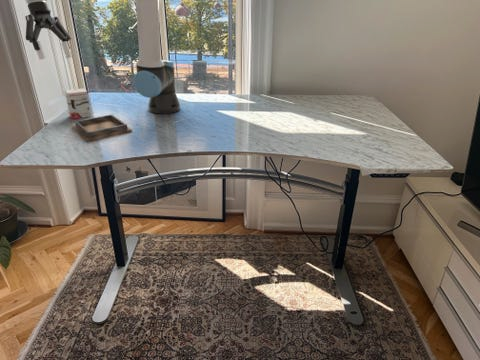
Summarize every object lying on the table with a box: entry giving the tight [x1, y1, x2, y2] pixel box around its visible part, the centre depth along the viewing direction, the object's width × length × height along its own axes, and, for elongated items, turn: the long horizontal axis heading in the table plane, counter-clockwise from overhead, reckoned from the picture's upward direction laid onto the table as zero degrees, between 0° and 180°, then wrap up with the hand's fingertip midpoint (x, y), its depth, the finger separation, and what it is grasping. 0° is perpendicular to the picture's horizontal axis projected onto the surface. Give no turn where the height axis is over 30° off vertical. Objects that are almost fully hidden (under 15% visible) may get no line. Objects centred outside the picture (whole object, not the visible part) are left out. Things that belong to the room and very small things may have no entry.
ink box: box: [64, 87, 93, 120], centre depth 152 cm, size 8×5×12 cm, turn 123°
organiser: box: [71, 114, 133, 142], centre depth 140 cm, size 18×18×3 cm
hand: (56, 58), depth 143 cm, fingers open, 13 cm apart
